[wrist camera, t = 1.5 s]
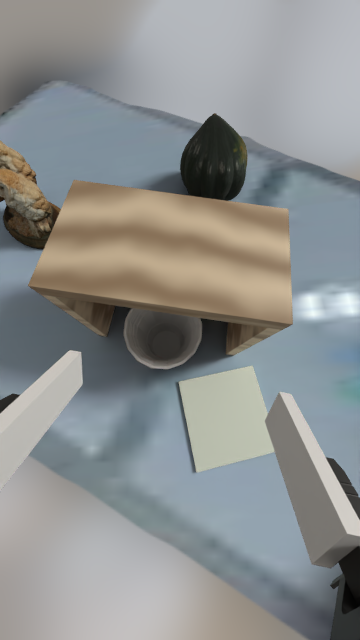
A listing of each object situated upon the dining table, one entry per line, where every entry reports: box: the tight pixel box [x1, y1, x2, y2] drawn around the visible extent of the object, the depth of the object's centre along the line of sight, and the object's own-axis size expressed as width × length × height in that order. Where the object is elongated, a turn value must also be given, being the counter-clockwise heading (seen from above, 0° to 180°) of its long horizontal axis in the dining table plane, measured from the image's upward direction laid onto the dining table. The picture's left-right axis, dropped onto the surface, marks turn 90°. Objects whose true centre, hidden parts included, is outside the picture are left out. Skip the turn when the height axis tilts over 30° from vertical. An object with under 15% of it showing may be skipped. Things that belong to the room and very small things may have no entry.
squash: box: [180, 114, 247, 201], centre depth 46 cm, size 14×15×15 cm
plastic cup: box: [123, 308, 202, 369], centre depth 33 cm, size 11×11×12 cm
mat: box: [179, 366, 275, 472], centre depth 35 cm, size 14×14×1 cm
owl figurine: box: [0, 141, 61, 249], centre depth 39 cm, size 18×12×17 cm, turn 58°
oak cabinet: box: [28, 180, 293, 355], centre depth 31 cm, size 14×26×20 cm, turn 82°
